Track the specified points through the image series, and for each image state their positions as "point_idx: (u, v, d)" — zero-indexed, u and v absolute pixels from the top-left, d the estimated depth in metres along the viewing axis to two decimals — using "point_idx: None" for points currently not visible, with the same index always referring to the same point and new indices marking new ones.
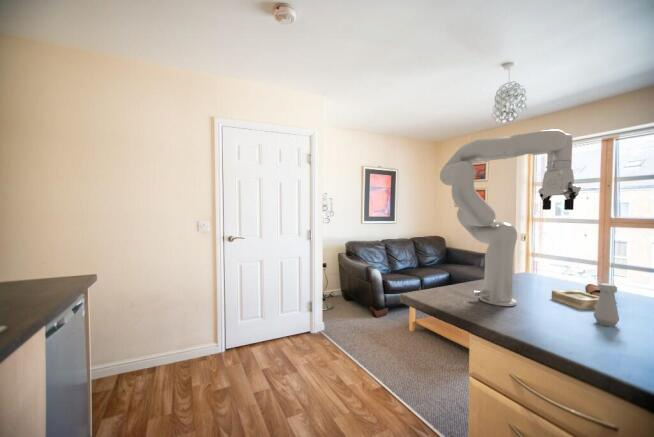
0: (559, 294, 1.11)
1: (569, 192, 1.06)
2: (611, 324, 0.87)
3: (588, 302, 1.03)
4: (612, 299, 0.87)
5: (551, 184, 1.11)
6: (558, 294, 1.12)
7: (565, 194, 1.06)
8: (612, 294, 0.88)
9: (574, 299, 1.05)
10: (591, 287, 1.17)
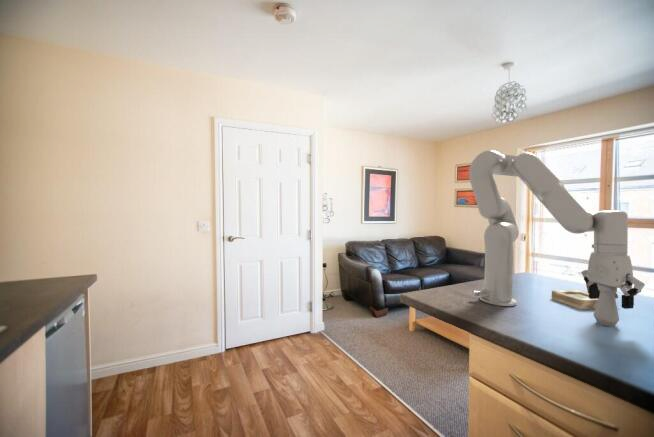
0: (559, 294, 1.11)
1: (627, 286, 0.84)
2: (611, 324, 0.87)
3: (588, 302, 1.03)
4: (612, 299, 0.87)
5: (601, 271, 0.89)
6: (558, 294, 1.12)
7: (622, 288, 0.84)
8: (612, 294, 0.88)
9: (574, 299, 1.05)
10: None
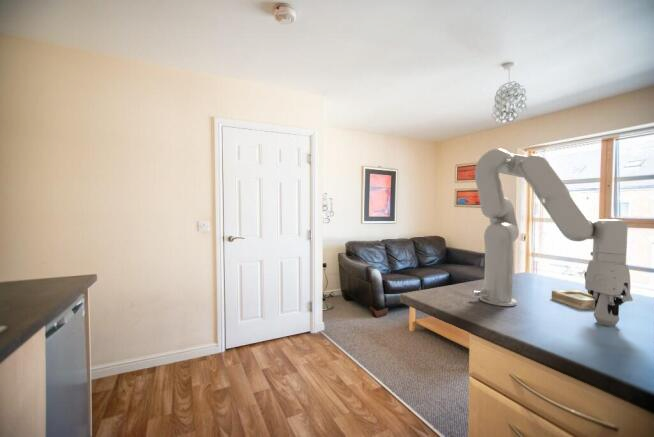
0: (559, 294, 1.11)
1: (618, 296, 0.86)
2: (611, 324, 0.87)
3: (588, 302, 1.03)
4: None
5: (599, 279, 0.89)
6: (558, 294, 1.12)
7: (611, 298, 0.87)
8: None
9: (574, 299, 1.05)
10: None
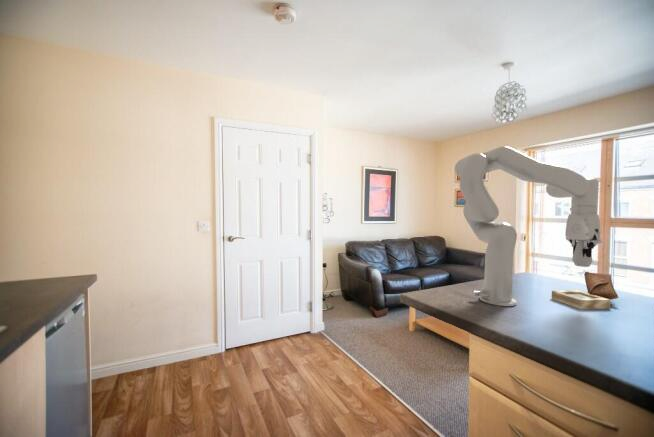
0: (559, 294, 1.11)
1: (590, 241, 1.05)
2: (586, 264, 1.06)
3: (588, 302, 1.03)
4: None
5: (575, 228, 1.08)
6: (558, 294, 1.12)
7: (585, 243, 1.05)
8: None
9: (574, 299, 1.05)
10: (589, 280, 1.16)
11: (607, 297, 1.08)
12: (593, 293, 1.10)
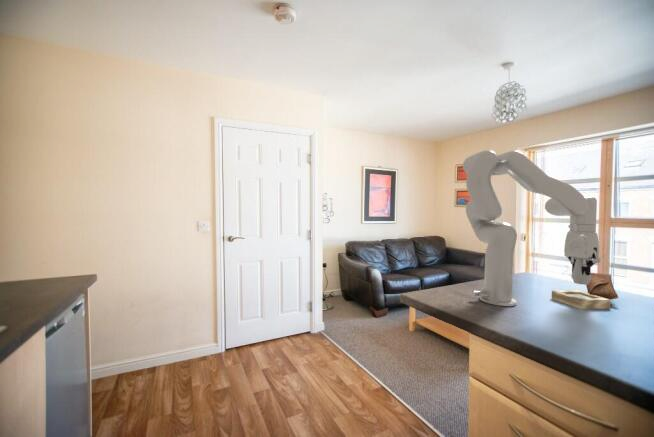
0: (559, 294, 1.11)
1: (589, 259, 1.06)
2: (585, 282, 1.07)
3: (588, 302, 1.03)
4: None
5: (574, 246, 1.09)
6: (558, 294, 1.12)
7: (584, 261, 1.06)
8: None
9: (574, 299, 1.05)
10: None
11: (607, 297, 1.08)
12: (593, 293, 1.10)
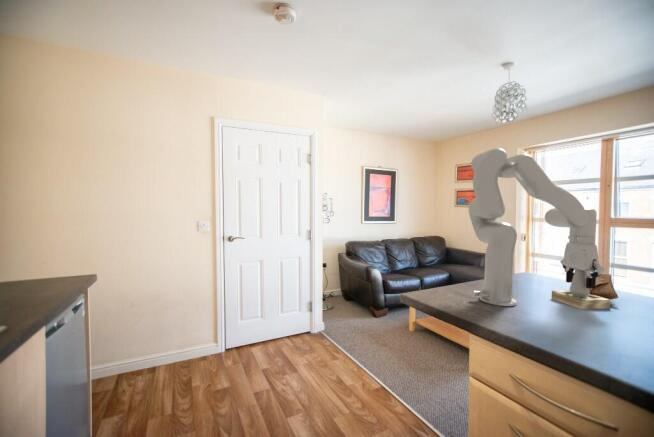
0: (559, 294, 1.11)
1: (592, 270, 1.05)
2: (583, 296, 1.07)
3: (588, 302, 1.03)
4: (583, 276, 1.07)
5: (574, 257, 1.09)
6: (558, 294, 1.12)
7: (588, 272, 1.05)
8: (584, 272, 1.08)
9: (574, 299, 1.05)
10: None
11: (607, 297, 1.08)
12: (593, 293, 1.10)
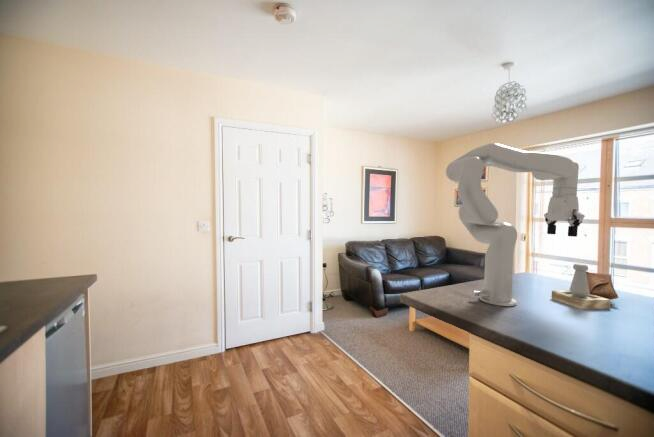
0: (559, 294, 1.11)
1: (573, 219, 1.09)
2: (583, 296, 1.07)
3: (588, 302, 1.03)
4: (584, 276, 1.07)
5: (556, 209, 1.13)
6: (558, 294, 1.12)
7: (569, 221, 1.09)
8: (584, 272, 1.08)
9: (574, 299, 1.05)
10: (589, 280, 1.16)
11: (607, 297, 1.08)
12: (593, 293, 1.10)
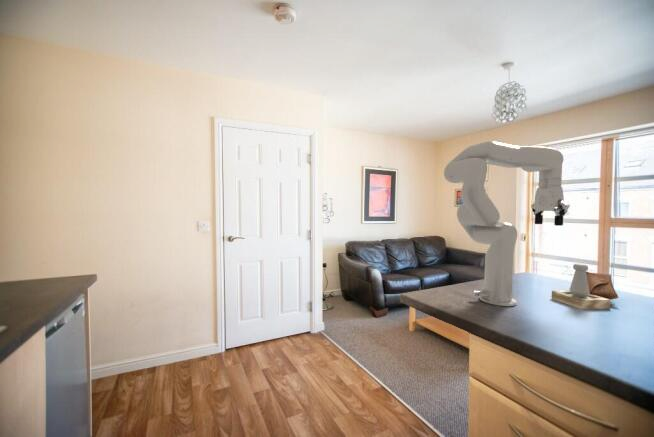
0: (559, 294, 1.11)
1: (559, 209, 1.13)
2: (583, 296, 1.07)
3: (588, 302, 1.03)
4: (584, 276, 1.07)
5: (542, 200, 1.17)
6: (558, 294, 1.12)
7: (555, 211, 1.13)
8: (584, 272, 1.08)
9: (574, 299, 1.05)
10: (589, 280, 1.16)
11: (607, 297, 1.08)
12: (593, 293, 1.10)
